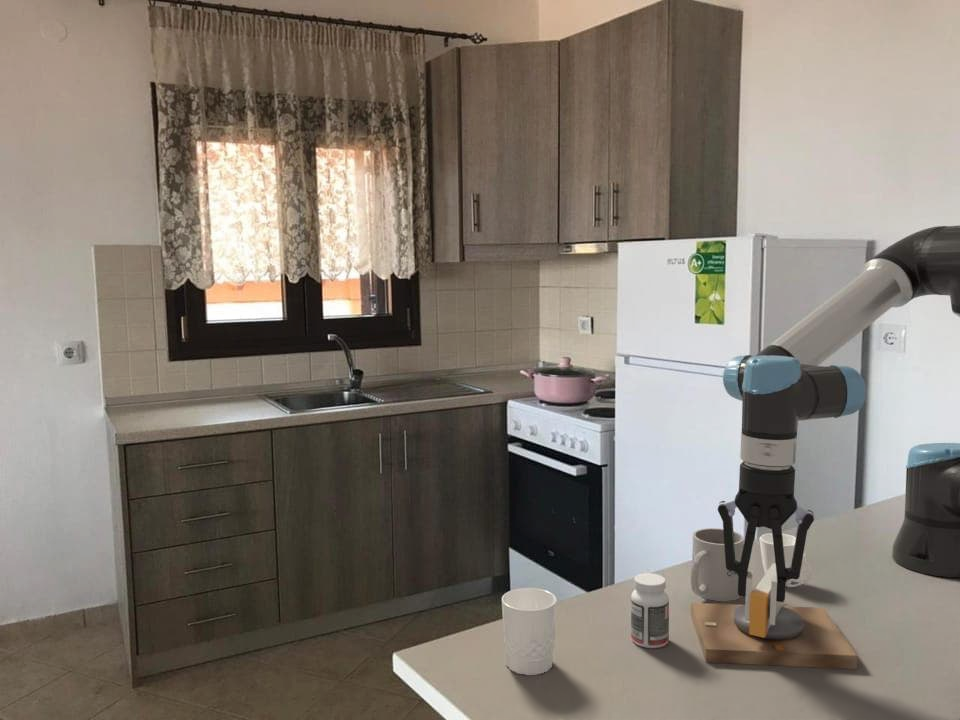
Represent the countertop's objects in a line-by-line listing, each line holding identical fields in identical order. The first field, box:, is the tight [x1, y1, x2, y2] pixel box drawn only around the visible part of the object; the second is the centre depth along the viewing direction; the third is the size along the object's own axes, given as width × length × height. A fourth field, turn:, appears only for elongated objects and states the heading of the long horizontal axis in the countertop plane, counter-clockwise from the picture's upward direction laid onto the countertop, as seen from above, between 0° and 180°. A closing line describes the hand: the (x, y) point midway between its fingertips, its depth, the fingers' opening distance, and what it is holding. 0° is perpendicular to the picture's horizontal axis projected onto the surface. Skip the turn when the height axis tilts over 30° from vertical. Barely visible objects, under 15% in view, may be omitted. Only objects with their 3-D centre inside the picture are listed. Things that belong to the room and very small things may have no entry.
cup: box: [758, 532, 812, 588], centre depth 144 cm, size 7×10×8 cm
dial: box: [734, 563, 803, 639], centre depth 123 cm, size 14×10×7 cm
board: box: [690, 602, 858, 670], centre depth 123 cm, size 21×16×2 cm
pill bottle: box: [630, 572, 670, 649], centre depth 123 cm, size 6×6×10 cm
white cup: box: [501, 587, 557, 676], centre depth 117 cm, size 8×8×10 cm
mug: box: [690, 527, 745, 602], centre depth 140 cm, size 12×9×10 cm
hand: (760, 618), depth 118 cm, fingers open, 3 cm apart
